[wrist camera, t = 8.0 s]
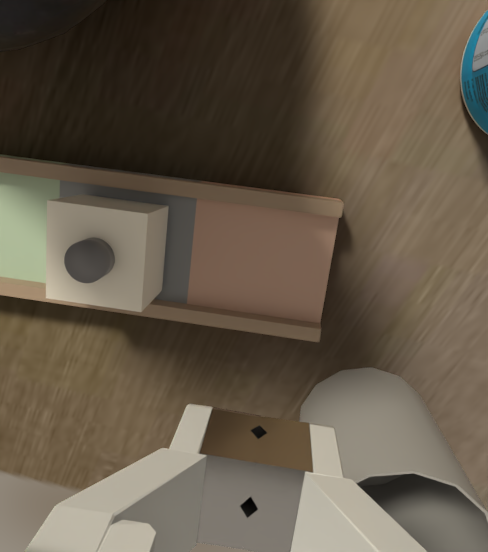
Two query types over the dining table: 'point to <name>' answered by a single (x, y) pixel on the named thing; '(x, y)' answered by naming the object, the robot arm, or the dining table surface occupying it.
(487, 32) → the beverage bottle
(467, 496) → the cup
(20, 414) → the dining table surface
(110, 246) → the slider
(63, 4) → the pitcher
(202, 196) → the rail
